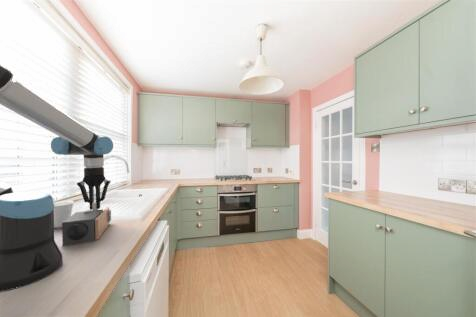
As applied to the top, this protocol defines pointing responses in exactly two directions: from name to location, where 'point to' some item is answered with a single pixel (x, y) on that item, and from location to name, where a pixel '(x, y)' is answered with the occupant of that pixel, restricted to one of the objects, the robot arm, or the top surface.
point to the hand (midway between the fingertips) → (95, 215)
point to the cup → (62, 212)
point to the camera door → (102, 222)
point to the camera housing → (80, 227)
